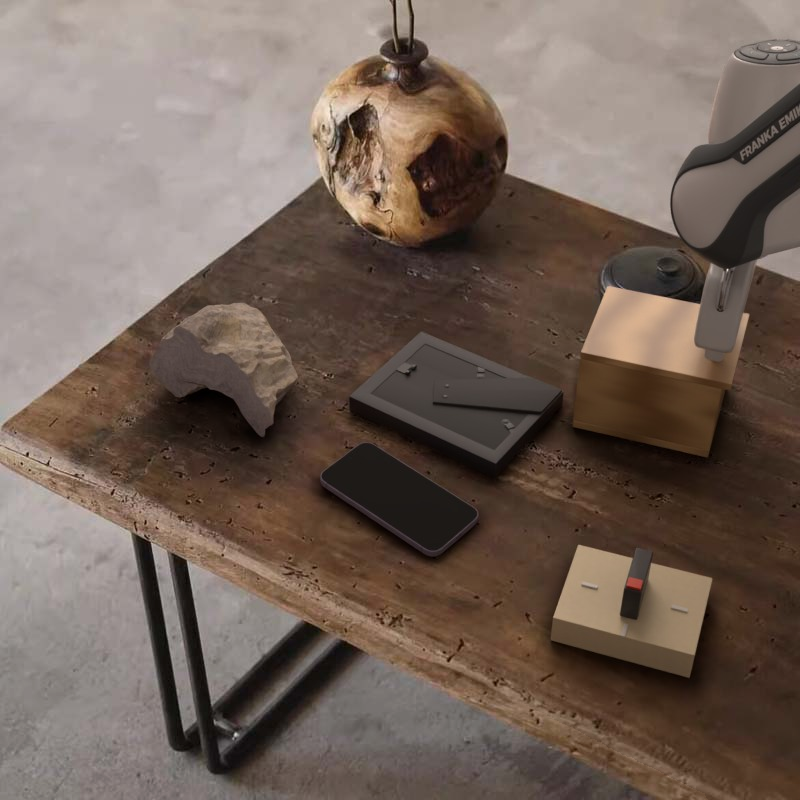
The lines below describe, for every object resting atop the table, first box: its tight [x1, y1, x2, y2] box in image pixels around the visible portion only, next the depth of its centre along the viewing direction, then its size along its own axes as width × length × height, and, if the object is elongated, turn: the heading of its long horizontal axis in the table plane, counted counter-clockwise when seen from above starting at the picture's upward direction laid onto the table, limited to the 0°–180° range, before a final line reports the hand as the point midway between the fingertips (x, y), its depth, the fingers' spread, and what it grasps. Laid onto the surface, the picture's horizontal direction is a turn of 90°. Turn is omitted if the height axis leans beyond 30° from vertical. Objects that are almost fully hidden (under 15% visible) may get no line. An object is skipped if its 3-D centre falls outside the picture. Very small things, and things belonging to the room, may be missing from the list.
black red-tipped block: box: [620, 547, 654, 620], centre depth 112 cm, size 5×2×4 cm, turn 161°
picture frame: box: [348, 331, 565, 479], centre depth 136 cm, size 13×2×18 cm
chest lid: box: [579, 285, 751, 391], centre depth 130 cm, size 15×12×5 cm
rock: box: [148, 302, 299, 438], centre depth 137 cm, size 16×13×10 cm
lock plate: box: [550, 544, 713, 679], centre depth 114 cm, size 12×9×3 cm
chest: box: [572, 357, 727, 458], centre depth 134 cm, size 14×12×9 cm
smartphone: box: [319, 441, 479, 557], centre depth 126 cm, size 7×1×15 cm
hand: (720, 332), depth 128 cm, fingers open, 6 cm apart
